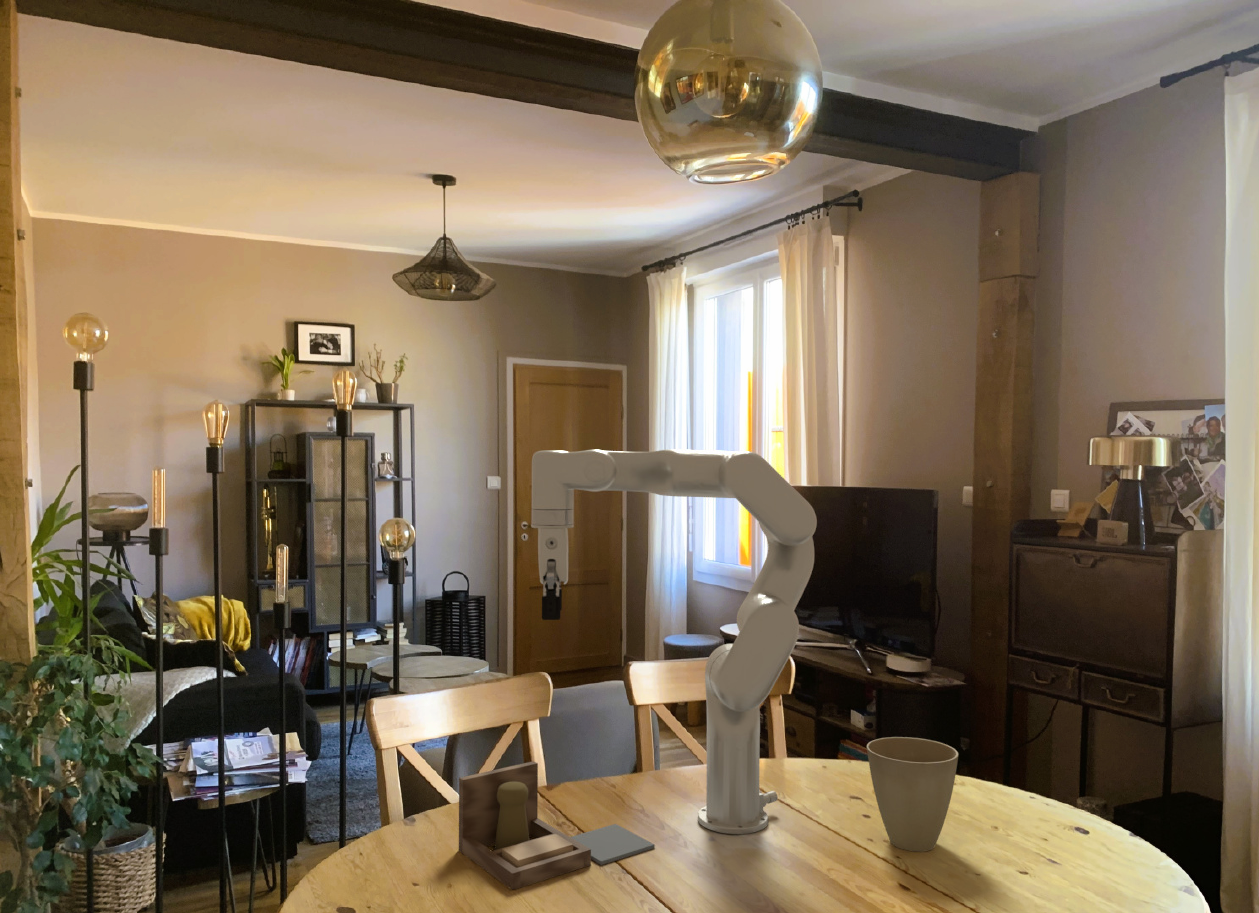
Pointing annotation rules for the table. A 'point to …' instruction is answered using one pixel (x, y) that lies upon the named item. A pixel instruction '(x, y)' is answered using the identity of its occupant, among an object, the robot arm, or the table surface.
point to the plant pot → (912, 788)
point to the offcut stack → (536, 850)
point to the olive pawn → (512, 815)
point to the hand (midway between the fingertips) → (552, 615)
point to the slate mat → (612, 843)
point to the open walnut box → (482, 823)
